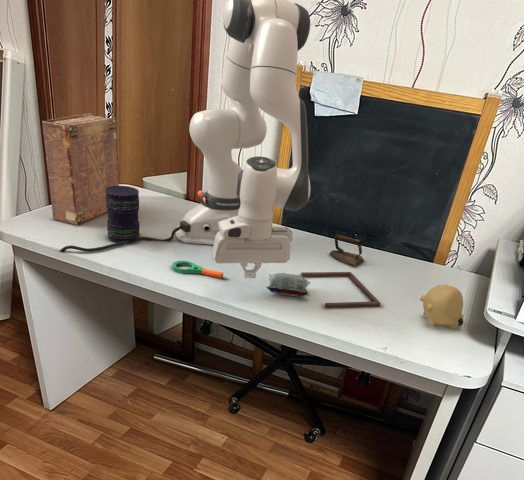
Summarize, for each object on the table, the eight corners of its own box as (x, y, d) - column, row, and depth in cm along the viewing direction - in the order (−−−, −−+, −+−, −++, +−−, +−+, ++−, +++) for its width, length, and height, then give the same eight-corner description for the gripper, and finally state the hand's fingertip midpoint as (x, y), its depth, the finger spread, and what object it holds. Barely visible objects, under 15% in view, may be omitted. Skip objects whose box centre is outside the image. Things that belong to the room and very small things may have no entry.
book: (98, 201, 184) (92, 112, 168) (120, 206, 182) (116, 117, 166) (52, 219, 163) (41, 120, 147) (77, 225, 161) (68, 126, 145)
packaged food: (268, 282, 142) (270, 266, 139) (309, 288, 141) (312, 272, 139) (265, 295, 134) (267, 279, 132) (308, 302, 134) (311, 286, 131)
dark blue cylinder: (129, 246, 152) (127, 197, 144) (101, 239, 154) (98, 190, 146) (145, 236, 160) (145, 190, 152) (119, 230, 162) (117, 183, 154)
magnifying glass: (168, 269, 141) (168, 264, 140) (178, 262, 146) (178, 257, 145) (217, 282, 138) (218, 276, 137) (226, 274, 143) (226, 269, 142)
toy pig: (440, 343, 131) (479, 322, 127) (421, 311, 125) (461, 289, 121) (429, 323, 139) (465, 303, 135) (410, 292, 133) (447, 271, 130)
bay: (325, 308, 132) (326, 304, 132) (300, 275, 148) (301, 272, 148) (380, 306, 137) (380, 303, 136) (349, 274, 153) (350, 271, 152)
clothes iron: (356, 269, 158) (355, 239, 153) (325, 266, 164) (322, 237, 159) (365, 261, 163) (364, 231, 158) (334, 258, 169) (332, 230, 164)
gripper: (289, 223, 130) (282, 271, 138) (212, 221, 124) (209, 272, 132) (297, 231, 125) (289, 281, 133) (217, 230, 119) (214, 283, 127)
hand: (249, 277), depth 132 cm, fingers closed
